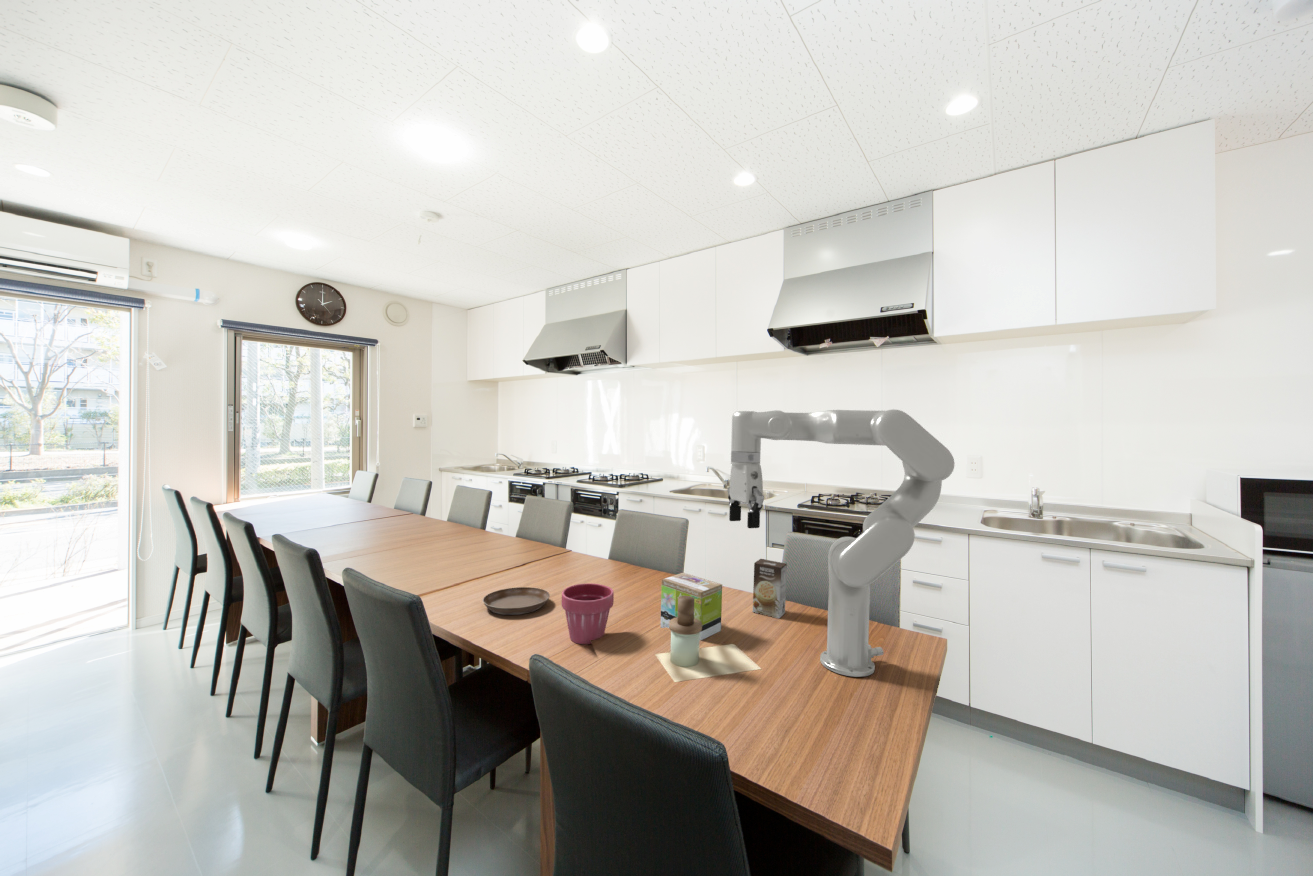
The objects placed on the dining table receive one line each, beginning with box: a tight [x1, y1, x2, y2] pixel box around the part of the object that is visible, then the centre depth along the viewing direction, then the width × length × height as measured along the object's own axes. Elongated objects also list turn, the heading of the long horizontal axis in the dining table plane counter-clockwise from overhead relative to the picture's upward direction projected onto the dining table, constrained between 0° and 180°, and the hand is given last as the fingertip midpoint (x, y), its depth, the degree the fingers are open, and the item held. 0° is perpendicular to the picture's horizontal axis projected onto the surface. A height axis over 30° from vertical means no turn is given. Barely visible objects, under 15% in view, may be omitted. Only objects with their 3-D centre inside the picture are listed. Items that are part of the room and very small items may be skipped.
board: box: [654, 643, 762, 683], centre depth 118 cm, size 22×14×1 cm, turn 109°
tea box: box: [660, 572, 723, 641], centre depth 138 cm, size 15×10×15 cm, turn 47°
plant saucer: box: [482, 586, 551, 616], centre depth 155 cm, size 21×21×3 cm
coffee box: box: [752, 558, 788, 619], centre depth 154 cm, size 9×6×16 cm
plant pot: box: [561, 582, 615, 645], centre depth 132 cm, size 14×14×13 cm
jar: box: [670, 630, 701, 667], centre depth 118 cm, size 7×7×8 cm
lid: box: [668, 596, 702, 635], centre depth 118 cm, size 8×8×7 cm
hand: (743, 524), depth 126 cm, fingers open, 9 cm apart
